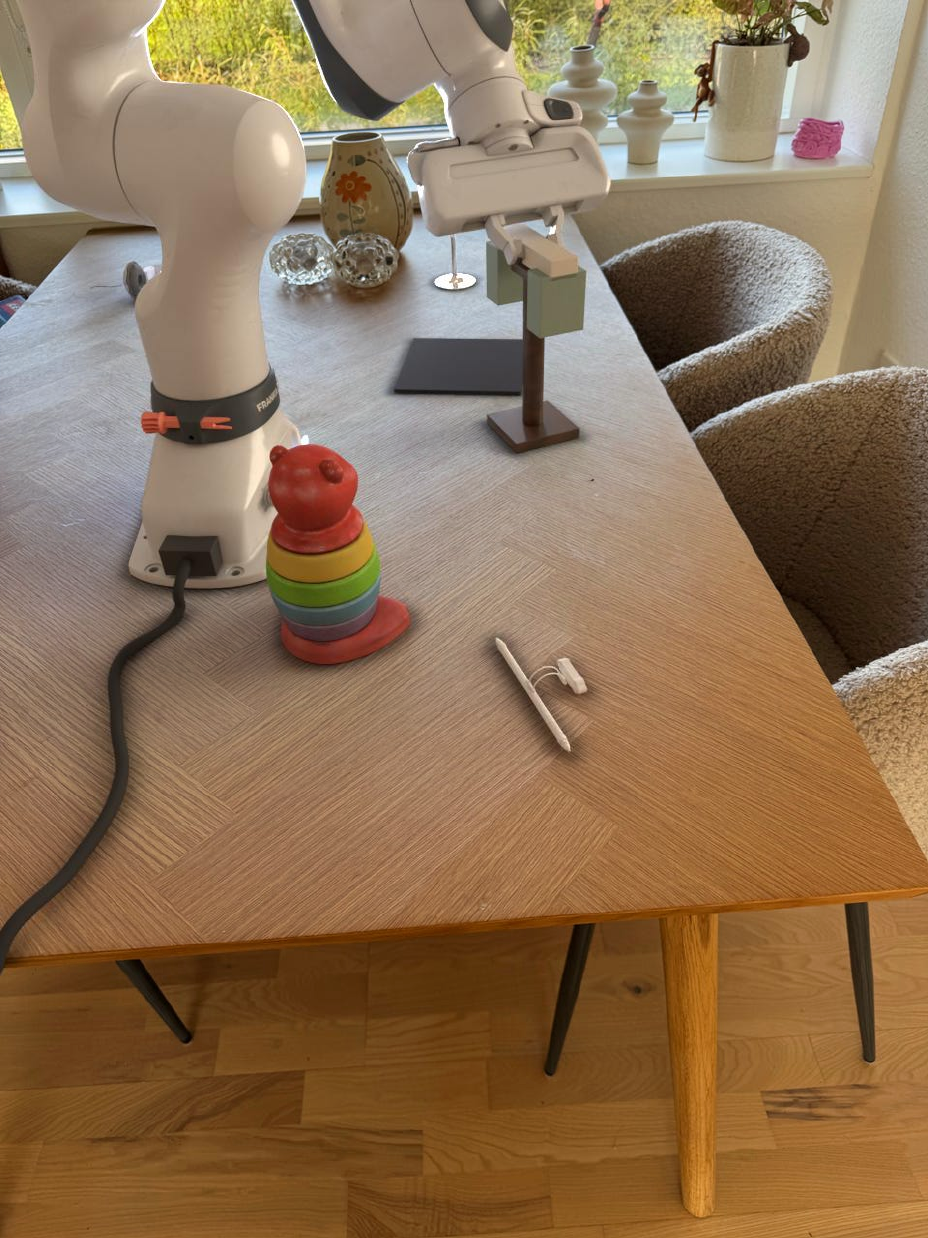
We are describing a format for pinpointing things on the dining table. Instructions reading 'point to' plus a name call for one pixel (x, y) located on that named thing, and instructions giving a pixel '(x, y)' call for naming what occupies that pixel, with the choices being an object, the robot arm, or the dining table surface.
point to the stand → (532, 397)
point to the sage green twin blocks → (539, 283)
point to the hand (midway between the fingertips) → (537, 257)
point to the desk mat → (462, 367)
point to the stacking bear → (325, 560)
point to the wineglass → (454, 273)
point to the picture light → (567, 676)
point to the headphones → (137, 277)
